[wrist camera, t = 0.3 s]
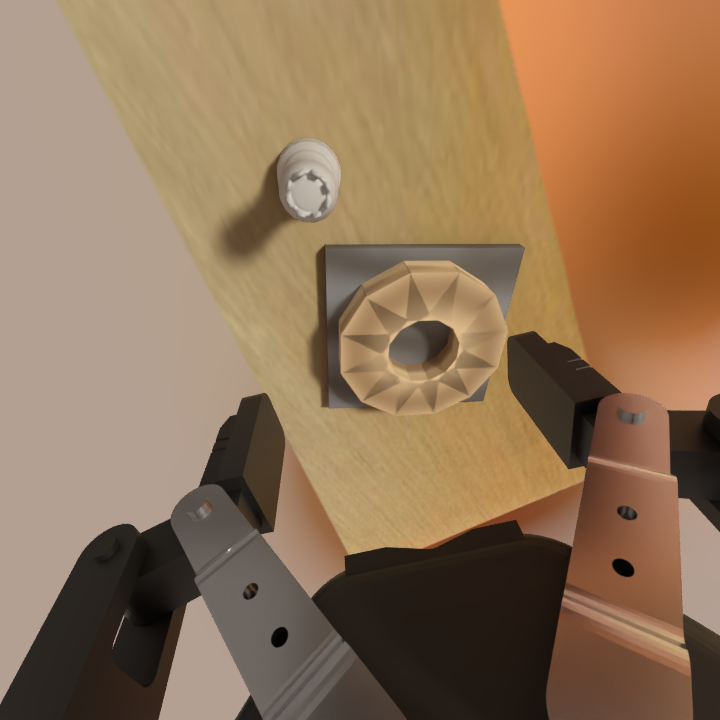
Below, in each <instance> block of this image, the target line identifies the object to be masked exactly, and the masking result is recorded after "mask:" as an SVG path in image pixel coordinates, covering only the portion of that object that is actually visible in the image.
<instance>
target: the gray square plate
mask: <svg viewBox="0 0 720 720" xmlns="http://www.w3.org/2000/svg"><path fill="white" fill-rule="evenodd" d="M524 249H525V248H524V247H523V246H521V245H520V244H398V245H325V262H326V306H327V351H328V395H329V409H330V408H351V407H371V406H373V407H375V408H378V409H380V410H383V411H385V412H388V413H390V414H393V415H395V416H396V415H416V414H434V413H436V412H438V411H440V410H443V409H445V408H447V407H449V406H451V405H454V404H456V403H458V402H474V401H483V399H484V396H485V392H486V388H487V385H488V381H489V377H490V375H491V374H492V373H493V372H494V371H495V370H496V369H497V367H498V365H499V361H500V358H501V354H502V351H503V347H504V344H505V340H506V337H507V333H508V329H507V326H506V323H505V319H506V315H507V312H508V308H509V304H510V301H511V297H512V293H513V290H514V286H515V282H516V279H517V275H518V271H519V268H520V264H521V260H522V257H523V253H524Z"/></svg>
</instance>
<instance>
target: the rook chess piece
mask: <svg viewBox="0 0 720 720" xmlns="http://www.w3.org/2000/svg"><path fill="white" fill-rule="evenodd" d="M277 179H278V184H279V198H280V200H281V202H282V204H283V207H284V209H285V210H286V211H287V212H288V213H289V214H290V215H291V216H292V217H293V218H295V219H298V220H300V221H302V222H318V221H320V220H322V219H325V218H326V217H327V216H328V215H329V214H330V213H331V212H332V211H333V210H334V207H335V205H336V202H337V200H338V189H339V187H340V183H341V168H340V165H339V162H338V159H337V157H336V155H335V154H334V152H333V151H332V150H331V149H330V148H329V147H328V145H326V144H324V143H323V142H321V141H319V140H317V139H314V138H300V139H298V140H296V141H293V142H291V143H289V144H288V146H287V147H286V148H285V149H284V150H283V151H282V153H281V154H280V158H279V161H278V164H277Z"/></svg>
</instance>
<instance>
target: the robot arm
mask: <svg viewBox="0 0 720 720" xmlns="http://www.w3.org/2000/svg"><path fill="white" fill-rule="evenodd" d="M507 354H508V380H509V385H510V388H511V390H512V392H513V394H514V396H515V397H516V398H517V400H518V401H519V402H520V404H521V405H522V407H523V408H524V409H525V411H526V412H527V413H528V415H529V416H530V417H531V419H532V420H533V422H534V423H535V424H536V426H537V427H538V428H539V430H540V431H541V432H542V434H543V435H544V436H545V438H546V439H547V441H548V442H549V443H550V445H551V446H552V447H553V449H554V450H555V451H556V453H557V454H558V456H559V457H560V458H561V460H562V461H563V462H564V464H565V465H566V466H567V468H568V469H572V468H577V467H581V466H584V467H585V468H586V473H585V478H584V484H583V489H582V495H581V501H580V506H579V512H578V518H577V523H576V529H575V534H574V540H573V546H572V547H571V546H569V545H567V544H565V543H563V542H560V541H557V540H554V539H551V538H547V537H543V536H538V535H533V534H523V533H522V531H521V529H520V527H519V525H518V523H517V521H516V520H513V521H509V522H505V523H499V524H495V525H490V526H485V527H480V528H475V529H472V530H470V531H468V532H466V533H465V534H462V535H460V536H458V537H456V538H454V539H452V540H450V541H448V542H446V543H444V544H442V545H440V546H438V547H436V548H433V549H413V548H391V547H385V548H380V549H376V550H371V551H366V552H361V553H357V554H352V555H347V556H345V571H343V572H342V573H340V574H338V575H336V576H335V577H334V578H332V579H330V580H329V581H328V582H327V583H326V584H324V585H323V586H322V587H321V588H320V589H319V590H318V591H317V592H316V593H315V594H314V595H313V597H312V598H310V597H309V596H308V594H307V593H306V592H305V591H304V589H303V588H302V587H301V585H300V584H299V583H298V582H297V580H296V579H295V578H294V576H293V575H292V574H291V573H290V571H289V570H288V569H287V567H286V566H285V565H284V564H283V562H282V561H281V560H280V559H279V557H278V556H277V555H276V553H275V552H274V551H273V550H272V548H271V547H270V546H269V544H268V543H267V542H266V540H265V539H264V538H263V537H262V536H261V534H264V533H269V532H274V526H275V518H276V510H277V503H278V495H279V488H280V480H281V473H282V465H283V457H284V450H285V437H284V432H283V428H282V426H281V424H280V421H279V419H278V417H277V414H276V412H275V410H274V408H273V405H272V403H271V401H270V399H269V397H268V395H267V394H266V393H262V394H258V395H254V396H249V397H245V398H242V400H241V403H240V406H239V409H238V412H237V415H233V416H230V417H229V418H228V419H227V421H226V422H225V423H224V424H223V425H222V427H221V428H220V430H219V433H218V435H217V438H216V443H215V444H214V446H213V449H212V453H211V455H210V458H209V460H208V463H207V466H206V468H205V471H204V474H203V477H202V479H201V482H200V485H199V487H198V488H196V489H194V490H193V491H191V492H189V493H188V494H187V495H185V496H184V497H183V498H182V499H181V500H180V501H179V502H178V504H177V505H176V506H175V508H174V510H173V512H172V514H171V518H170V519H169V520H167V521H165V522H163V523H161V524H158V525H156V526H155V527H152V528H150V529H148V530H146V531H144V532H142V533H140V532H139V531H138V530H137V529H136V528H135V527H134V526H133V525H131V524H121V525H117V526H114V527H112V528H110V529H108V530H106V531H105V532H103V533H102V534H100V535H99V536H97V537H96V538H95V539H94V540H93V541H92V542H91V543H90V544H89V545H88V546H87V547H86V548H85V549H84V551H83V552H82V553H81V555H80V557H79V558H78V560H77V562H76V564H75V566H74V568H73V570H72V571H71V573H70V575H69V577H68V579H67V581H66V583H65V585H64V586H63V588H62V590H61V592H60V594H59V596H58V598H57V599H56V601H55V603H54V605H53V607H52V609H51V611H50V613H49V614H48V617H47V618H46V620H45V622H44V624H43V626H42V627H41V629H40V631H39V633H38V635H37V637H36V639H35V641H34V643H33V644H32V646H31V648H30V650H29V652H28V654H27V655H26V657H25V659H24V661H23V663H22V665H21V667H20V668H19V670H18V672H17V674H16V676H15V678H14V680H13V682H12V683H11V685H10V687H9V689H8V691H7V693H6V695H5V697H4V698H3V700H2V702H1V704H0V720H158V719H159V715H160V711H161V707H162V703H163V699H164V695H165V691H166V686H167V682H168V678H169V674H170V670H171V666H172V662H173V658H174V654H175V650H176V646H177V642H178V638H179V634H180V630H181V626H182V621H183V617H184V613H185V609H186V605H187V603H188V602H190V601H191V600H193V599H195V598H197V597H199V596H201V595H202V597H203V599H204V601H205V603H206V605H207V607H208V609H209V611H210V613H211V615H212V617H213V619H214V621H215V623H216V625H217V627H218V629H219V631H220V633H221V635H222V637H223V639H224V641H225V643H226V645H227V647H228V650H229V652H230V654H231V656H232V657H233V660H234V662H235V664H236V665H237V668H238V669H239V671H240V674H241V676H242V678H243V680H244V682H245V684H246V686H247V688H248V690H249V692H250V696H249V698H248V699H247V701H246V703H245V704H244V706H243V707H242V709H241V711H240V712H239V714H238V716H237V717H236V719H235V720H720V636H719V635H718V634H716V633H714V632H713V631H711V630H709V629H708V628H706V627H704V626H703V625H701V624H700V623H698V622H696V621H695V620H693V619H691V618H690V617H688V616H686V615H685V614H683V606H682V581H681V556H680V530H679V505H678V498H686V499H690V500H691V501H692V502H693V503H694V504H695V506H696V507H697V508H698V509H699V510H700V511H701V512H702V513H703V514H704V515H705V516H706V517H707V519H708V520H709V521H710V522H711V523H712V524H713V525H714V526H715V527H716V528H717V529H718V531H719V532H720V394H718V395H715V396H713V397H712V398H711V399H710V400H709V403H708V406H707V409H706V411H671V410H666V409H665V408H664V407H663V406H662V405H661V404H660V403H658V402H656V401H654V400H653V399H651V398H648V397H645V396H642V395H637V394H630V393H621V392H620V391H619V390H618V389H617V388H616V387H614V386H613V385H612V384H611V383H610V382H609V381H608V380H606V379H605V378H604V377H603V376H602V375H601V374H599V373H598V372H597V371H596V370H595V369H593V368H590V365H589V364H588V363H587V362H585V361H584V360H581V357H580V356H578V355H577V354H576V353H575V352H574V351H573V350H571V349H570V348H568V347H565V346H563V345H560V344H558V343H555V342H553V343H547V342H546V341H545V340H544V339H543V338H541V337H540V336H539V335H538V334H537V333H536V332H534V331H531V332H527V333H523V334H518V335H514V336H510V337H509V338H508V341H507ZM123 615H124V616H125V617H124V620H123V622H122V625H121V628H120V630H119V633H118V636H117V638H116V641H115V644H114V646H113V643H114V639H115V637H116V634H117V631H118V629H119V626H120V623H121V621H122V618H123ZM112 648H113V649H112Z"/></svg>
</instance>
